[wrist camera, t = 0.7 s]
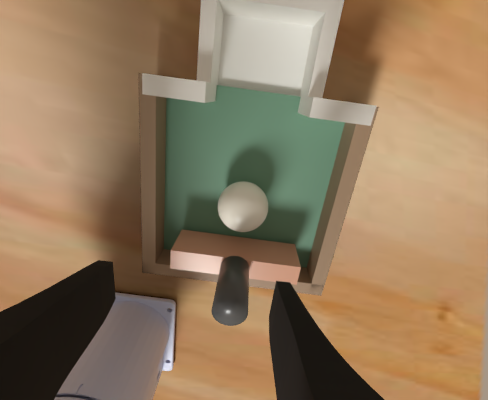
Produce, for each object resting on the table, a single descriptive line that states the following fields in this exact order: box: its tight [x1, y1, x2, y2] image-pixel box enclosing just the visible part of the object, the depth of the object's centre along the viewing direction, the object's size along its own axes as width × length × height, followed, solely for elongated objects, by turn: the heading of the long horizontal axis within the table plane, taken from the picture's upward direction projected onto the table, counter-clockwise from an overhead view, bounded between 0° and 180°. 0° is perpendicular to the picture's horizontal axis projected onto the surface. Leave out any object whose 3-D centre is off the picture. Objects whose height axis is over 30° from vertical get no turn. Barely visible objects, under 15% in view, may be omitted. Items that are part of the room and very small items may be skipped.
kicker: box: [170, 229, 301, 326], centre depth 18 cm, size 2×9×7 cm, turn 83°
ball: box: [218, 181, 268, 232], centre depth 18 cm, size 4×4×4 cm
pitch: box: [139, 0, 378, 296], centre depth 17 cm, size 19×14×5 cm
